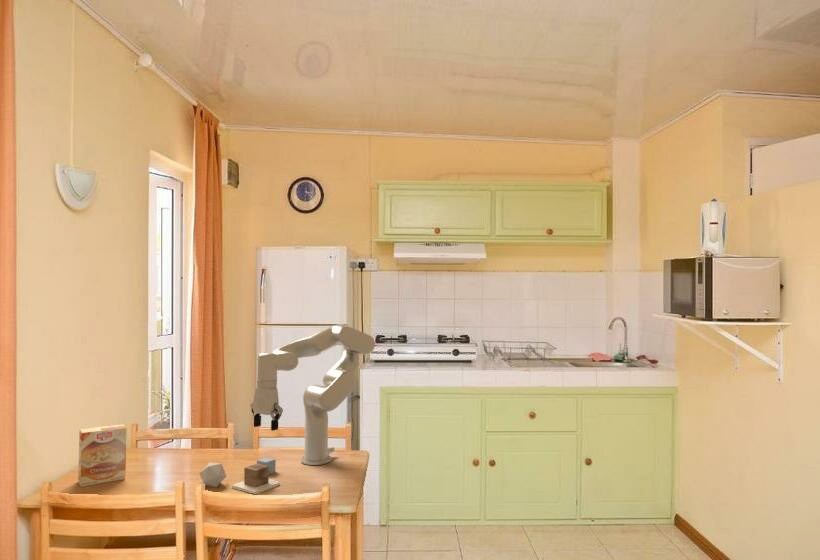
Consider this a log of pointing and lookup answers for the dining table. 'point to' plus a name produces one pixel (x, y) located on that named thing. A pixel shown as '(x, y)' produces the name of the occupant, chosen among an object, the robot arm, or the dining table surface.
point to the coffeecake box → (102, 454)
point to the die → (213, 474)
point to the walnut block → (256, 475)
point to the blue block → (268, 463)
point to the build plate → (258, 489)
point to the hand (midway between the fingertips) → (265, 428)
